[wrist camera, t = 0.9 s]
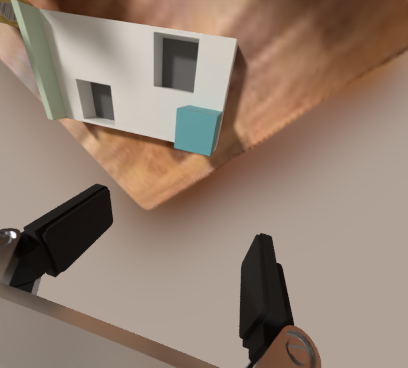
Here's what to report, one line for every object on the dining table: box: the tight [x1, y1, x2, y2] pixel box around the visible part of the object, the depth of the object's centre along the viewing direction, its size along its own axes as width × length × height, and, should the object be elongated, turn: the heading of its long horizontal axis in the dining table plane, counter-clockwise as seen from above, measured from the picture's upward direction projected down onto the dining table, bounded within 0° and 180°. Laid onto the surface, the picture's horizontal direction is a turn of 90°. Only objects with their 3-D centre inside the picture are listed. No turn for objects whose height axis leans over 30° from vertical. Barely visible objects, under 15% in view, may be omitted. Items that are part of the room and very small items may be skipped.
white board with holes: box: [11, 0, 238, 151], centre depth 25 cm, size 14×28×6 cm, turn 81°
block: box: [174, 105, 222, 156], centre depth 23 cm, size 5×5×5 cm
